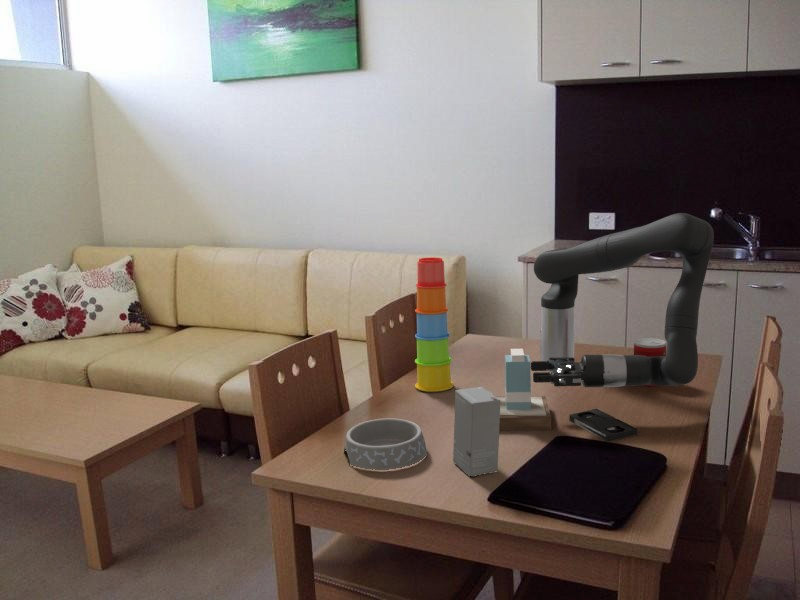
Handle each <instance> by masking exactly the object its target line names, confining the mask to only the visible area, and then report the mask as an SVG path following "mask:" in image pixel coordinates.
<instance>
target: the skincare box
mask: <svg viewBox="0 0 800 600" xmlns="http://www.w3.org/2000/svg"><path fill="white" fill-rule="evenodd" d="M454 391H455V393H454V422H453V426H454V428H453V430H454V431H453V432H454V433H453V452H452V454H453V455H452V456H453V457H452V462H453V463H454V462H455V463H456V464H455V463H454V464H455V465H456V466H458V468H459V469H461V470H462V472H464V473H465V474H466V475H467V474H468V475H467V476H468V477H470V476H473V477H476V476H475V475H479V476H481V475H480V474H484V473H489V474H491V473H490V472H494V473H496V472H495V471H497V472H498V469H499V467H498V466H499V445H500V443H499V439H500V430H499V424H500V399H498V398H497V397H495V396H496V395H494V393H493V392H492V391H488V390H487V389H486V388H485V387H483V386H478V387H470V388H467V387H466V388H459V389H456V390H454ZM484 475H485V474H484Z"/></svg>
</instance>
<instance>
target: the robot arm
mask: <svg viewBox="0 0 800 600" xmlns="http://www.w3.org/2000/svg"><path fill="white" fill-rule="evenodd" d="M714 232H715V231H714V229H713V227H712V225H711V224H710V223H709V222H708V221H707V220H704V219H702V218H699V217H697V216H694V215H692V214H689V213H686V212H677V213H673V214H670V215H668V216H665V217H663V218H660V219H657V220H655V221H653V222H651V223H648V224H644V225H642V226H638V227H633V228H629V229H627V230H626V229H625V230H622V231H618V232H613V233H609V234H607V235H602V236H599V237H596V238H594V239H591V240H588V241H586V242H583V243H580V244H578V245H576V246H572V247H570V248H566V247H563V248H562V247H561V248H557V249H551V250H546V251H543V252H542V253H540V254H538V256H537V257H536V258H535V260H534V264H533V272H534V275H535V277H536V278H537V279H538V280H539V281H541V282H543V283H545V284H550V287H549V289H548V290H547V291H546V292H545V293H543V295H542V296H541V298H540V307H541V309H540V311H541V313H540V315H541V316H540V318H541V320H540V322H541V323H540V325H541V327H540V328H541V330H540V334H539V337H540V341H539V343H540V351H539V352H540V353H539V354H540V356H539V357H540V360H532V361H530V371H531V372H533V373H532V380H533V383H536V384H537V383H538V384H539V383H545V384H546V383H550V384H551V385H554V387H580V386H583V387H584V388H618V387H638V386H644V385H659V386H661V387H662V386H663V387H679V386H682V385H687V384H690V383H691V382H692V381H693V380H694V379H695V378H696V375H697V372H698V368H699V355H698V354H699V353H698V344H697V336H698V325H699V311H700V303H701V302H700V301H701V297H702V296H701V295H702V291H703V287H704V283H705V279H706V275H707V271H708V266H709V263H710V258H711V255H712V252H713V251H712V250H713V246H714V240H715V239H714V238H715V235H714V234H715V233H714ZM661 252H672V253H677V254H679V255H681V256H682V268H681V275H680V277H679V280H678V283H677V284H676V286H675V288H674V290H673V292H672V293H671V295H670V297H669V299H668V303H667V307H666V310H665V319H664V321H665V322H664V340H665V341H666V356H659V357H647V356H643V355H634V354H626V355H625V354H624V355H623V354H615V353H614V354H613V353H611V354H607V353H606V354H602V353H601V354H600V353H599V354H597V353H596V354H582V356H581V358H580V360H581V361H580V362H576V361H575V303H576V302H575V301H576V299H577V296H578V291H579V275H588V274H589V275H590V274H598V273H599V274H600V273H606V272H612V271H618V270H622V269H626V268H629V267H631V266H633V265H635V264H636V263H637V262H638V261H640V259H642V258H643V257H644V256H646V255H650V254H653V253H654V254H656V253H661Z"/></svg>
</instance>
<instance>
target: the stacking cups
mask: <svg viewBox="0 0 800 600" xmlns="http://www.w3.org/2000/svg"><path fill="white" fill-rule="evenodd" d="M416 272H417V274H416V275H417V276H416V277H417V280H416V281H417V283H416V284H415V287H416V309H414V312H415V313H416V332H417V333H415V335H414V337H415V339H416V357H417V358H416V359H414V363H415V364H416V371H417V372H416V373H417V375H416V376H417V377H416V379H417V382H416V383H415V385H414V387H415V388H416V389H417V390H419V391H422V392H432V393H435V392H443V391H444V392H445V391H448V390H450V389H452V388H453V387H454V382H453V381H452V380H451V378H452V376H451V363H452V362H453V360H452V357H450V349H449V346H450V345H449V337H450V335H451V334H450V333H449V330H448V315H447V314H448V312H449V308H448V307H447V300H446V299H447V298H446V287H447V285H448V284H447V283H445V282H446V281H445V280H446V279H445V261H444V260H443V258H442V257H422V258H418V261H417V271H416Z"/></svg>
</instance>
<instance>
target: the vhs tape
mask: <svg viewBox="0 0 800 600" xmlns="http://www.w3.org/2000/svg"><path fill="white" fill-rule="evenodd" d="M568 420H569V422H571V423H573V424H574V425H577V426H578V427H580V428H581V429H584V430H586V431H588V432H589V433H591V434H593V435H594V436H597V437H598V438H601V439H602V440H604V441H606V442H608V443H609V442H612V441H613V442H614V441H616V440H621V439H626V438H629V437H630V438H631V437H634V436H638V427H635V426H633V425H631V424H628V423H627V422H625V421H622V420H621V419H619V418H616V417H614V416H612V415H611V414H608V413H606V412H604V411H602V410H600V409H598V408H593V409H591V410H589V409H588V410H585V411H580V412H576V413H575V412H574V413H572V414H571V413H570V414H569V418H568ZM618 427H619V429H618Z"/></svg>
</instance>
